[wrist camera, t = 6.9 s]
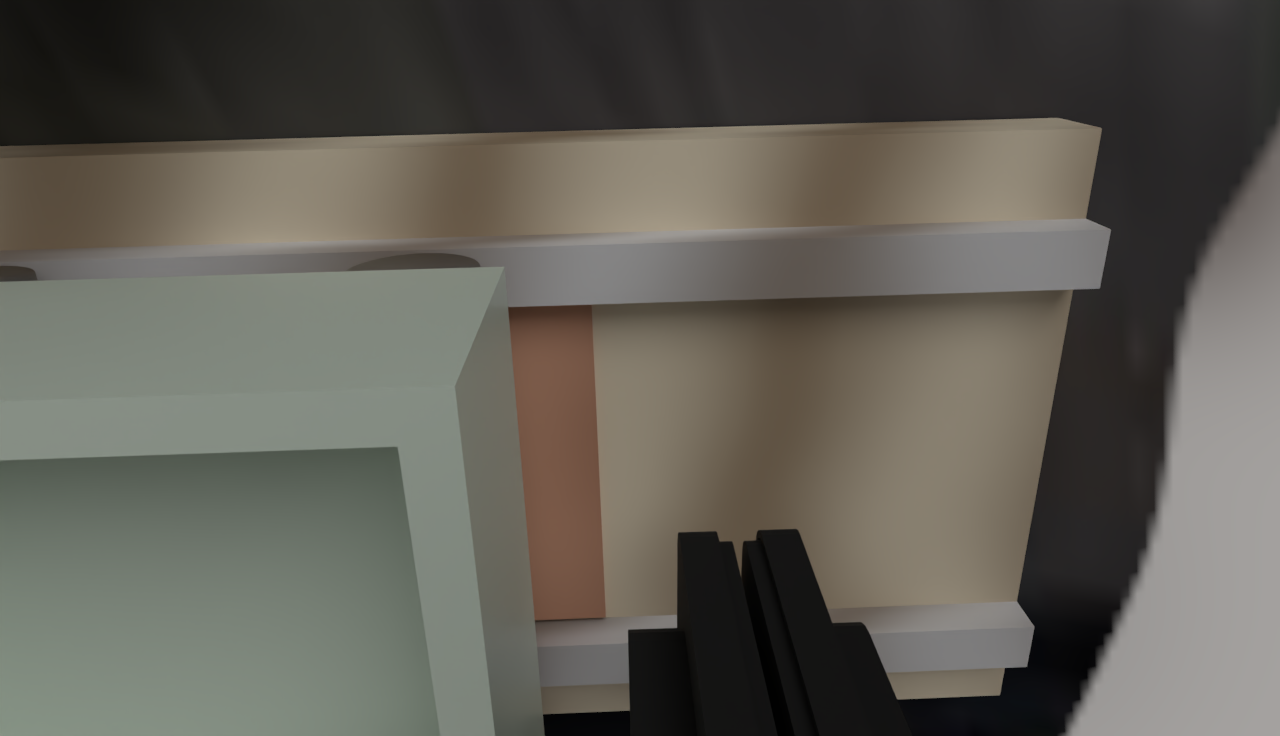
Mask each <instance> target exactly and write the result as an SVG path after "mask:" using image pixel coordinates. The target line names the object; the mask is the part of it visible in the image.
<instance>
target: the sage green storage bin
mask: <svg viewBox="0 0 1280 736" xmlns="http://www.w3.org/2000/svg"><path fill="white" fill-rule="evenodd" d="M0 736H545V734H544V722H543V710H542V699H541V687H540V675H539V664H538V652H537V640H536V629H535V617H534V605H533V594H532V582H531V570H530V559H529V547H528V535H527V524H526V512H525V500H524V488H523V477H522V465H521V453H520V442H519V430H518V418H517V407H516V395H515V383H514V372H513V360H512V348H511V337H510V325H509V313H508V302H507V290H506V278H505V267H480V263H479V262H478V261H476V260H475V259H472V258H470V257H466V256H462V255H456V254H446V253H417V254H405V255H397V256H390V257H384V258H379V259H375V260H371V261H367V262H364V263H361V264H358V265H355V266H353V267H351V268H349V269H347V270H346V271H342V272H309V273H276V274H243V275H210V276H177V277H143V278H110V279H77V280H44V281H38V279H37V276H36V273H35V271H34V270H33V269H31V268H27V267H21V266H0Z"/></svg>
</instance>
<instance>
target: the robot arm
mask: <svg viewBox="0 0 1280 736" xmlns="http://www.w3.org/2000/svg"><path fill="white" fill-rule="evenodd" d="M628 657H629V698H630V736H912V734H911V731H910V729H909V726H908V724H907V722H906V719H905V717H904V714H903V712H902V710H901V707H900V705H899V703H898V700H897V698H896V695H895V693H894V691H893V688H892V686H891V683H890V681H889V679H888V676H887V674H886V671H885V669H884V667H883V664H882V662H881V659H880V657H879V655H878V652H877V650H876V647H875V645H874V643H873V640H872V638H871V635H870V633H869V631H868V629H867V628H866V626H865V625H864V624H863V623H862V622H846V623H832V620H831V618H830V615H829V612H828V609H827V607H826V604H825V601H824V598H823V596H822V593H821V590H820V588H819V585H818V582H817V579H816V577H815V574H814V571H813V568H812V566H811V563H810V560H809V557H808V555H807V552H806V549H805V546H804V544H803V541H802V538H801V535H800V533H799V531H798V530H797V529H773V530H758V531H757V535H756V540H753V541H744V542H743V546H742V568H741V575H740V571H739V566H738V562H737V558H736V553H735V549H734V545H733V542H732V541H719V538H718V534H717V532H716V531H706V532H678V539H677V628H661V629H630V630H628Z"/></svg>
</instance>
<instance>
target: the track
mask: <svg viewBox="0 0 1280 736" xmlns="http://www.w3.org/2000/svg"><path fill="white" fill-rule="evenodd" d="M1101 131H1102V128H1099V127H1095V126H1091V125H1086V124H1082V123H1078V122H1073V121H1069V120H1065V119H1061V118H1034V119H997V120H959V121H922V122H885V123H847V124H810V125H773V126H736V127H698V128H661V129H624V130H586V131H549V132H512V133H474V134H437V135H400V136H363V137H325V138H288V139H251V140H213V141H176V142H139V143H102V144H64V145H27V146H0V266H21V267H27V268H31V269H33V270H34V271H35V273H36V276H37V279H38V281H44V280H77V279H110V278H143V277H177V276H210V275H243V274H276V273H309V272H342V271H346V270H347V269H349V268H351V267H353V266H355V265H358V264H361V263H364V262H367V261H371V260H375V259H379V258H384V257H390V256H397V255H405V254H417V253H446V254H456V255H462V256H466V257H470V258H472V259H475V260H476V261H478V262H479V263H480V267H505V278H506V290H507V302H508V313H509V325H510V337H511V348H512V360H513V372H514V383H515V395H516V407H517V418H518V430H519V442H520V453H521V465H522V477H523V488H524V500H525V512H526V524H527V535H528V547H529V559H530V570H531V582H532V594H533V605H534V617H535V629H536V640H537V652H538V664H539V675H540V687H541V699H542V710H543V714H561V713H585V712H609V711H630V698H629V657H628V630H630V629H661V628H677V539H678V532H706V531H716V532H717V534H718V538H719V541H732V542H733V545H734V549H735V553H736V558H737V562H738V566H739V571H740V575H741V568H742V546H743V542H744V541H753V540H756V535H757V531H758V530H773V529H797V530H798V531H799V533H800V535H801V538H802V541H803V544H804V546H805V549H806V552H807V555H808V557H809V560H810V563H811V566H812V568H813V571H814V574H815V577H816V579H817V582H818V585H819V588H820V590H821V593H822V596H823V598H824V601H825V604H826V607H827V609H828V612H829V615H830V618H831V620H832V623H846V622H862V623H863V624H864V625H865V626H866V628H867V629H868V631H869V633H870V635H871V638H872V640H873V643H874V645H875V647H876V650H877V652H878V655H879V657H880V659H881V662H882V664H883V667H884V669H885V671H886V674H887V676H888V679H889V681H890V683H891V686H892V688H893V691H894V693H895V695H896V698H897V699H920V698H944V697H968V696H992V695H1000V692H1001V686H1002V681H1003V675H1004V670H1005V668H1011V667H1027V664H1028V658H1029V653H1030V648H1031V643H1032V638H1033V632H1034V626H1033V624H1032V623H1031V621H1030V620H1029V618H1028V617H1027V615H1026V614H1025V613H1024V611H1023V610H1022V608H1021V607H1020V605H1019V604H1018V602H1017V597H1018V592H1019V586H1020V581H1021V575H1022V570H1023V564H1024V559H1025V553H1026V547H1027V542H1028V536H1029V531H1030V525H1031V520H1032V514H1033V509H1034V503H1035V498H1036V492H1037V486H1038V481H1039V475H1040V470H1041V464H1042V459H1043V453H1044V448H1045V442H1046V436H1047V431H1048V425H1049V420H1050V414H1051V409H1052V403H1053V398H1054V392H1055V386H1056V381H1057V375H1058V370H1059V364H1060V359H1061V353H1062V348H1063V342H1064V337H1065V331H1066V325H1067V320H1068V314H1069V309H1070V303H1071V298H1072V292H1073V289H1100V285H1101V279H1102V274H1103V269H1104V264H1105V259H1106V253H1107V248H1108V243H1109V238H1110V233H1111V229H1109V228H1106V227H1104V226H1102V225H1099V224H1097V223H1095V222H1092V221H1090V220H1088V219H1086V214H1087V209H1088V203H1089V198H1090V192H1091V187H1092V181H1093V176H1094V170H1095V164H1096V159H1097V153H1098V148H1099V142H1100V137H1101Z"/></svg>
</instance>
